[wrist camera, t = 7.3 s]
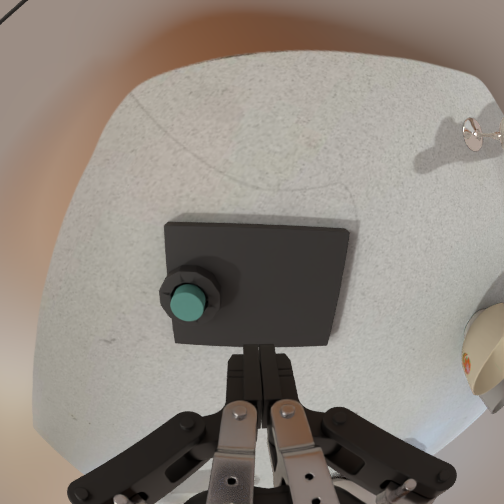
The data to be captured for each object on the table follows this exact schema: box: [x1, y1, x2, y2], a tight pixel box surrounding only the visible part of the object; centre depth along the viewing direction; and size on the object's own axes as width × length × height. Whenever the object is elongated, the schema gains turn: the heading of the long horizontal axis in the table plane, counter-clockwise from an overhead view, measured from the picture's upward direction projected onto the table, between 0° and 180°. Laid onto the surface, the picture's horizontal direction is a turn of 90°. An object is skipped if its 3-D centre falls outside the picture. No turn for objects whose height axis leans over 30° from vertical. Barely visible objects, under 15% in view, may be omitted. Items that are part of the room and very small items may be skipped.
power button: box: [170, 284, 206, 321], centre depth 25 cm, size 3×3×2 cm
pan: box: [332, 478, 376, 504], centre depth 45 cm, size 27×44×13 cm, turn 43°
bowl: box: [462, 303, 504, 395], centre depth 29 cm, size 16×16×10 cm
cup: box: [479, 379, 504, 414], centre depth 35 cm, size 8×8×10 cm
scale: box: [159, 222, 350, 347], centre depth 28 cm, size 19×14×3 cm
